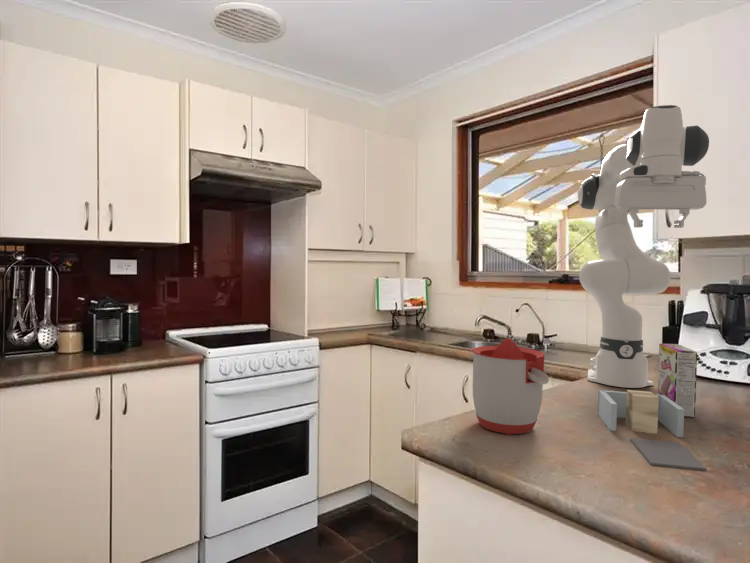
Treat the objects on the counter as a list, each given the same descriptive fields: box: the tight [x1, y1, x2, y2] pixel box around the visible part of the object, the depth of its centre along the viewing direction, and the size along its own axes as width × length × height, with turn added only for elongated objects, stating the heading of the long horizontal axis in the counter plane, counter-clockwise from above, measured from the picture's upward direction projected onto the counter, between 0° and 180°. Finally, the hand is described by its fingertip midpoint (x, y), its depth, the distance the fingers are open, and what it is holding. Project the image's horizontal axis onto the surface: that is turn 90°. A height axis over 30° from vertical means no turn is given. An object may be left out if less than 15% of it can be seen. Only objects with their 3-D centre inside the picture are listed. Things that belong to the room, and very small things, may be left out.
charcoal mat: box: [629, 437, 707, 472], centre depth 92 cm, size 13×9×1 cm
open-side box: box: [597, 389, 685, 438], centre depth 109 cm, size 12×14×6 cm
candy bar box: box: [657, 343, 698, 418], centre depth 120 cm, size 11×5×16 cm, turn 168°
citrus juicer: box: [472, 337, 549, 436], centre depth 105 cm, size 16×17×20 cm
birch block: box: [625, 389, 659, 435], centre depth 106 cm, size 5×5×8 cm
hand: (658, 227), depth 117 cm, fingers open, 8 cm apart
